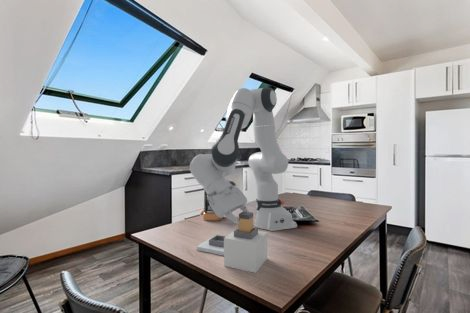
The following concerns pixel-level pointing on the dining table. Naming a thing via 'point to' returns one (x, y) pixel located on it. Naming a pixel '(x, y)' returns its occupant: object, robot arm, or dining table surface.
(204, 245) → the low plate
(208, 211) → the whiskey bottle
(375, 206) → the dining table surface
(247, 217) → the tan piece
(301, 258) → the dining table surface
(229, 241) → the block
